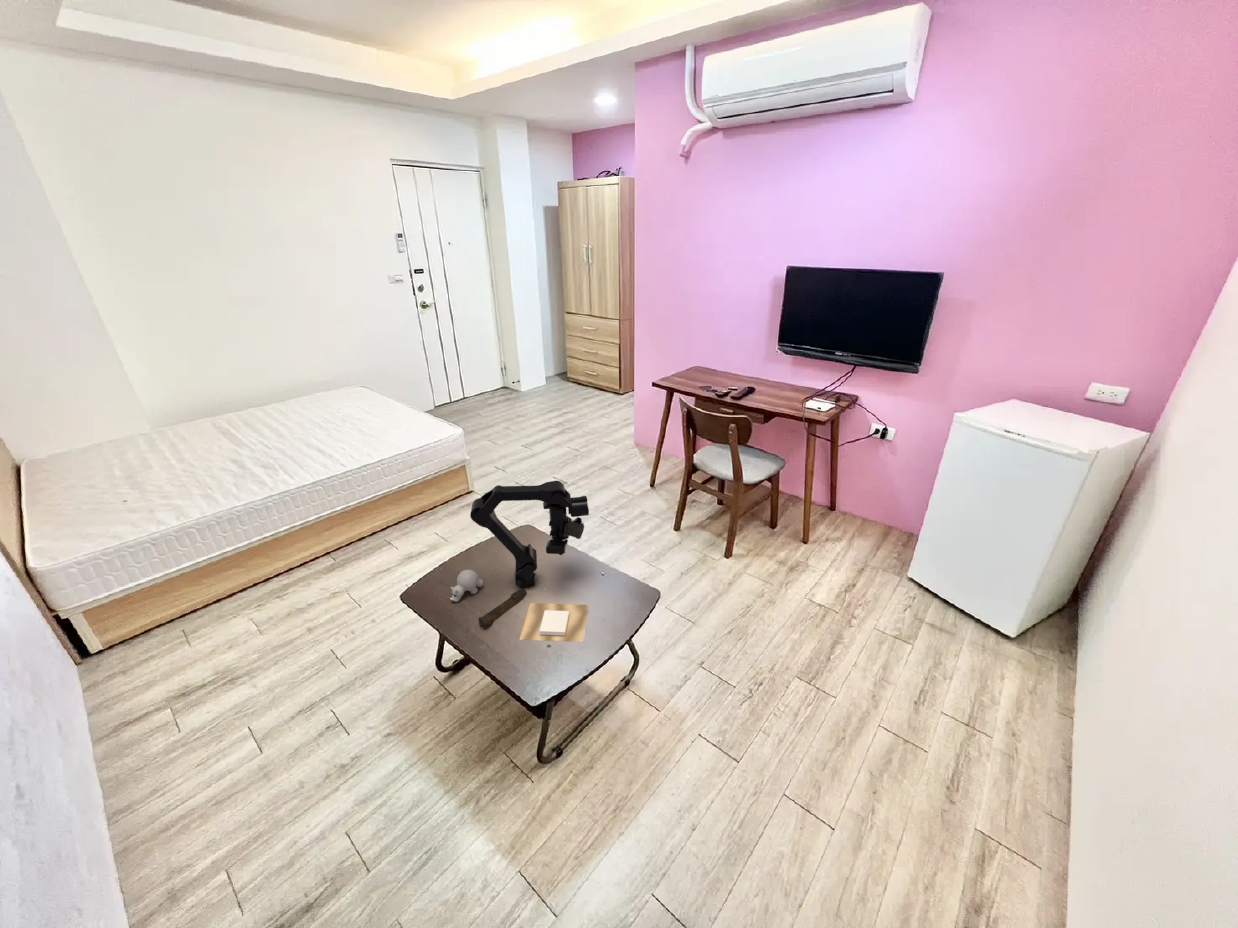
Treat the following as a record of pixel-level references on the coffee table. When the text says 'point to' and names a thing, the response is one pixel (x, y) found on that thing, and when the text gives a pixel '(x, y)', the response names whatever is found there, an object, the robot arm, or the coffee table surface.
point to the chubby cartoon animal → (466, 584)
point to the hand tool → (502, 608)
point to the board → (574, 625)
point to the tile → (554, 623)
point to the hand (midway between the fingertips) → (560, 554)
